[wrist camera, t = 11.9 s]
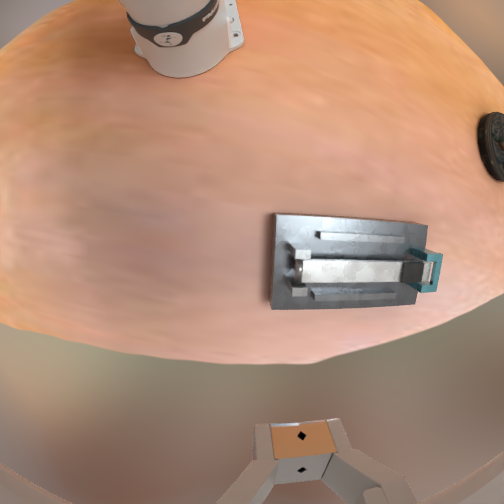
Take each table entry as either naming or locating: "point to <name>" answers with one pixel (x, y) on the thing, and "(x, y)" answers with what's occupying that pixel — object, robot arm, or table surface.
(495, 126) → the beer stein
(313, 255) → the grey mechanical fixture
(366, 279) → the silver long bar
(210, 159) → the table surface
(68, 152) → the table surface
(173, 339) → the table surface
